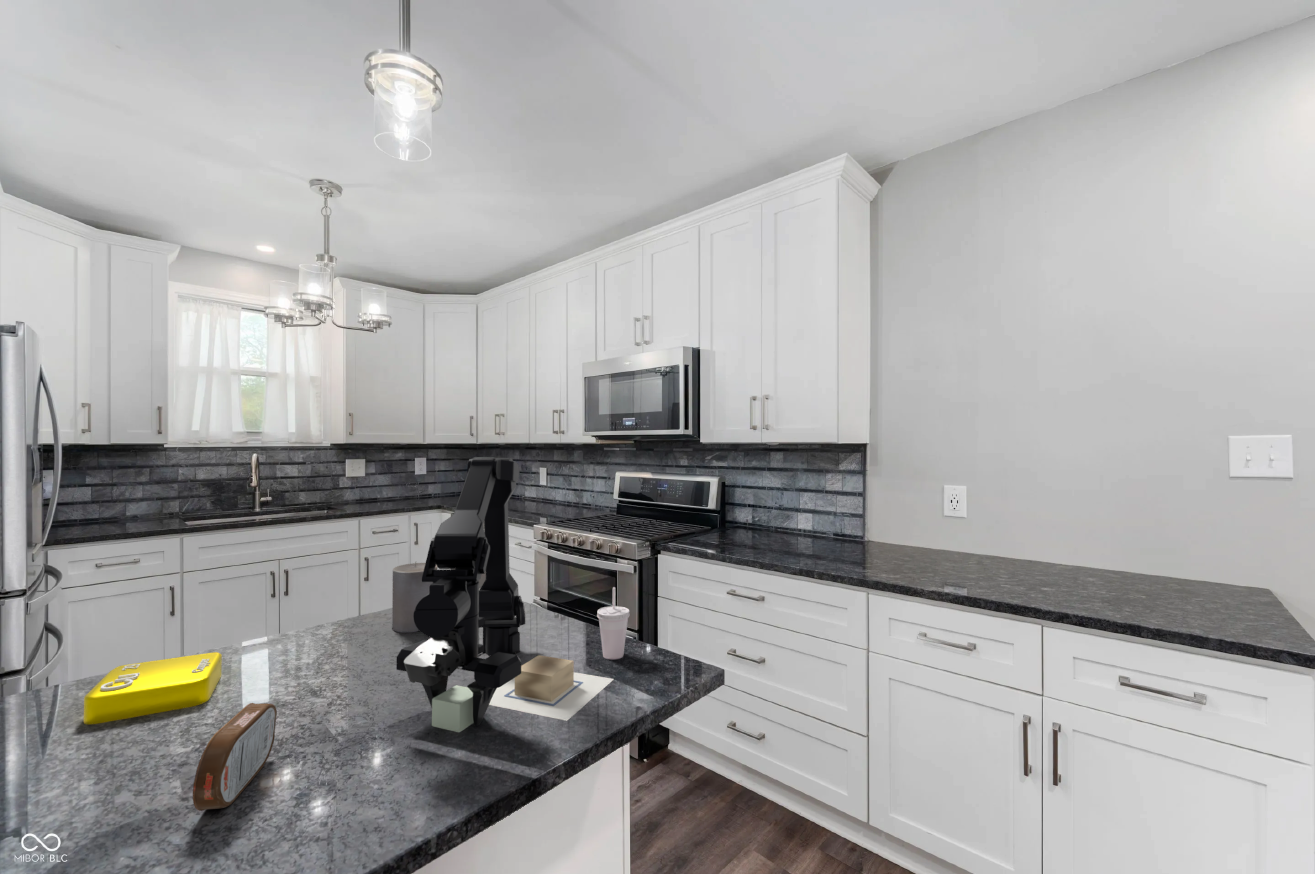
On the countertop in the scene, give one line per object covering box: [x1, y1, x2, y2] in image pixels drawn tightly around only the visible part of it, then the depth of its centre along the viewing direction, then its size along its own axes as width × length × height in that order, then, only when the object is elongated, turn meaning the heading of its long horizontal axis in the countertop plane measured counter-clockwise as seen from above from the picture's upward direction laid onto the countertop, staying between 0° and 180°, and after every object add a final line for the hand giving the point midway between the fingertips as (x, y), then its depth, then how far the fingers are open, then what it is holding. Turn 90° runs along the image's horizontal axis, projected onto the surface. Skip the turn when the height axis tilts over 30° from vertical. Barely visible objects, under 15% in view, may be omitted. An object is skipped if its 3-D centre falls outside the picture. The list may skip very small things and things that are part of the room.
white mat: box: [489, 671, 614, 722], centre depth 93 cm, size 18×16×1 cm
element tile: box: [82, 651, 223, 725], centre depth 93 cm, size 15×15×5 cm
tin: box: [192, 702, 278, 812], centre depth 68 cm, size 15×3×8 cm, turn 13°
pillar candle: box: [391, 561, 438, 634], centre depth 129 cm, size 10×10×15 cm
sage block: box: [431, 684, 474, 733], centre depth 82 cm, size 5×5×5 cm
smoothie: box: [596, 586, 631, 660], centre depth 109 cm, size 6×6×14 cm
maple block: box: [515, 654, 575, 702], centre depth 93 cm, size 7×7×4 cm
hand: (457, 720), depth 82 cm, fingers open, 7 cm apart
